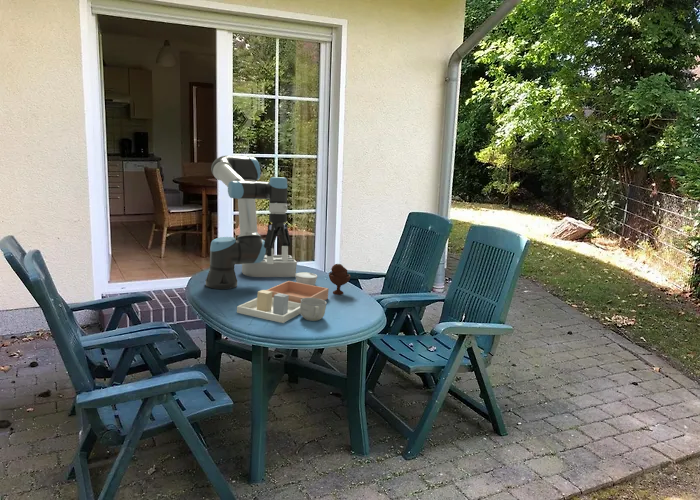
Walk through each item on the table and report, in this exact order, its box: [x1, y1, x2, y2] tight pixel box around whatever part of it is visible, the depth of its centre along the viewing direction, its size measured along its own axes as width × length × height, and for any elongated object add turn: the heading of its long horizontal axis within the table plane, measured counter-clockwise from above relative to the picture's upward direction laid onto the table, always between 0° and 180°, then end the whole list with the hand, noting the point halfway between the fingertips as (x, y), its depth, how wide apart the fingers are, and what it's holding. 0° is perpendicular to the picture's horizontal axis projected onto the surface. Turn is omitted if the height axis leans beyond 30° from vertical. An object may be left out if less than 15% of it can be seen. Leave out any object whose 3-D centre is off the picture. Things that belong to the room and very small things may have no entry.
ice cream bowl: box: [328, 263, 352, 296], centre depth 266 cm, size 11×11×15 cm
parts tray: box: [236, 297, 301, 324], centre depth 230 cm, size 22×20×3 cm
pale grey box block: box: [273, 293, 289, 315], centre depth 228 cm, size 5×4×8 cm
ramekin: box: [295, 271, 318, 286], centre depth 278 cm, size 11×11×5 cm
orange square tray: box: [265, 280, 330, 303], centre depth 250 cm, size 22×22×5 cm
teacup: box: [299, 298, 328, 322], centre depth 224 cm, size 14×11×8 cm
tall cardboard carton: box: [256, 289, 272, 312], centre depth 231 cm, size 5×4×8 cm
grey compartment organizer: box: [241, 254, 298, 278], centre depth 293 cm, size 17×28×9 cm, turn 109°
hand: (277, 262), depth 235 cm, fingers open, 13 cm apart
